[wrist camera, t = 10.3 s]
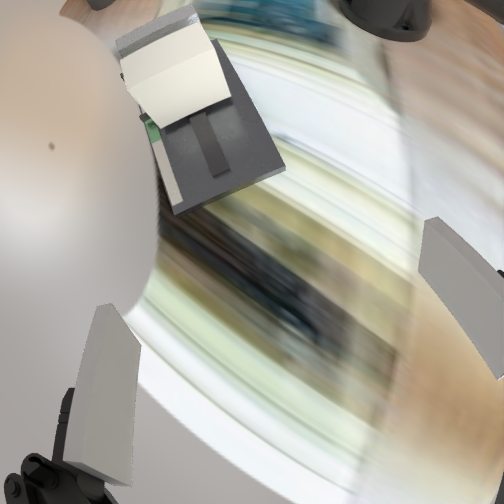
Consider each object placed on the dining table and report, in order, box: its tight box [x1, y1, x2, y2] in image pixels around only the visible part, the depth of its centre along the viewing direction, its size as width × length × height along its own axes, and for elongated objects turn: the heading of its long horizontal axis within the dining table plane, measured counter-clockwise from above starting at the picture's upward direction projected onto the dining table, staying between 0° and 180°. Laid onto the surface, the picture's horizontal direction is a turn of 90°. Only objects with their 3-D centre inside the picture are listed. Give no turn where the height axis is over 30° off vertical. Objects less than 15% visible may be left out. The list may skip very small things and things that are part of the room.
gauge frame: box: [116, 4, 286, 218], centre depth 30 cm, size 22×13×10 cm, turn 23°
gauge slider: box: [120, 22, 231, 129], centre depth 28 cm, size 5×11×9 cm, turn 113°
